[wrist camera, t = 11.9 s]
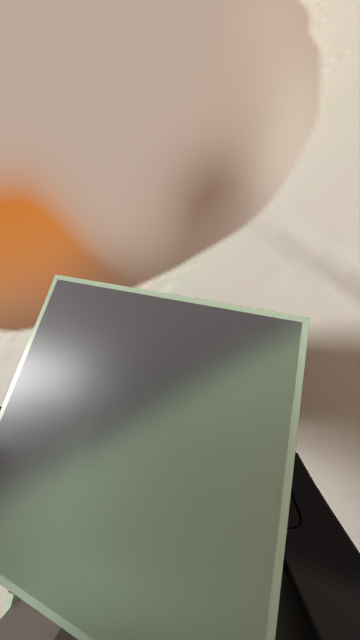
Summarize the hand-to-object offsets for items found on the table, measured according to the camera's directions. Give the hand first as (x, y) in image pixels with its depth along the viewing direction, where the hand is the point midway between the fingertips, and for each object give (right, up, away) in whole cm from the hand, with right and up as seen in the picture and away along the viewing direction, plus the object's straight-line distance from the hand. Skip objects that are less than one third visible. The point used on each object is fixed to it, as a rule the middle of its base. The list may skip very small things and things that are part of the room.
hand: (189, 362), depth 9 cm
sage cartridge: (+1, -3, +6) cm, 7 cm away
